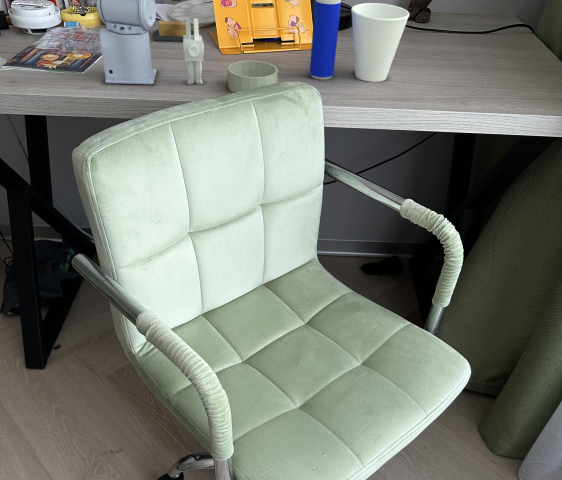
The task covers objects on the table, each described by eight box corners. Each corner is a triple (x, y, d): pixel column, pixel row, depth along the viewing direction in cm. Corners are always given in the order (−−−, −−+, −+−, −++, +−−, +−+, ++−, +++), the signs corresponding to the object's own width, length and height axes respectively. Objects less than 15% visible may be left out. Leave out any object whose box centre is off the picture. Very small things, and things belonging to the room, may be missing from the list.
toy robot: (186, 91, 114) (181, 22, 105) (184, 77, 119) (180, 11, 111) (206, 91, 115) (203, 23, 106) (203, 77, 120) (200, 11, 111)
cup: (332, 73, 125) (339, 7, 116) (368, 63, 131) (377, -1, 122) (373, 90, 119) (383, 22, 110) (409, 78, 125) (421, 13, 116)
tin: (228, 95, 113) (227, 77, 111) (228, 77, 120) (227, 59, 118) (278, 97, 114) (279, 78, 112) (275, 79, 121) (276, 61, 119)
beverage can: (318, 70, 126) (325, -10, 115) (337, 76, 124) (346, -5, 113) (304, 76, 123) (310, -6, 112) (323, 82, 121) (331, -1, 110)
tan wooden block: (159, 35, 136) (158, 23, 134) (160, 32, 138) (159, 20, 136) (189, 36, 137) (188, 24, 135) (189, 33, 139) (188, 21, 137)
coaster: (153, 40, 135) (153, 39, 134) (156, 31, 140) (156, 29, 140) (192, 42, 135) (192, 40, 135) (193, 32, 141) (193, 30, 140)
